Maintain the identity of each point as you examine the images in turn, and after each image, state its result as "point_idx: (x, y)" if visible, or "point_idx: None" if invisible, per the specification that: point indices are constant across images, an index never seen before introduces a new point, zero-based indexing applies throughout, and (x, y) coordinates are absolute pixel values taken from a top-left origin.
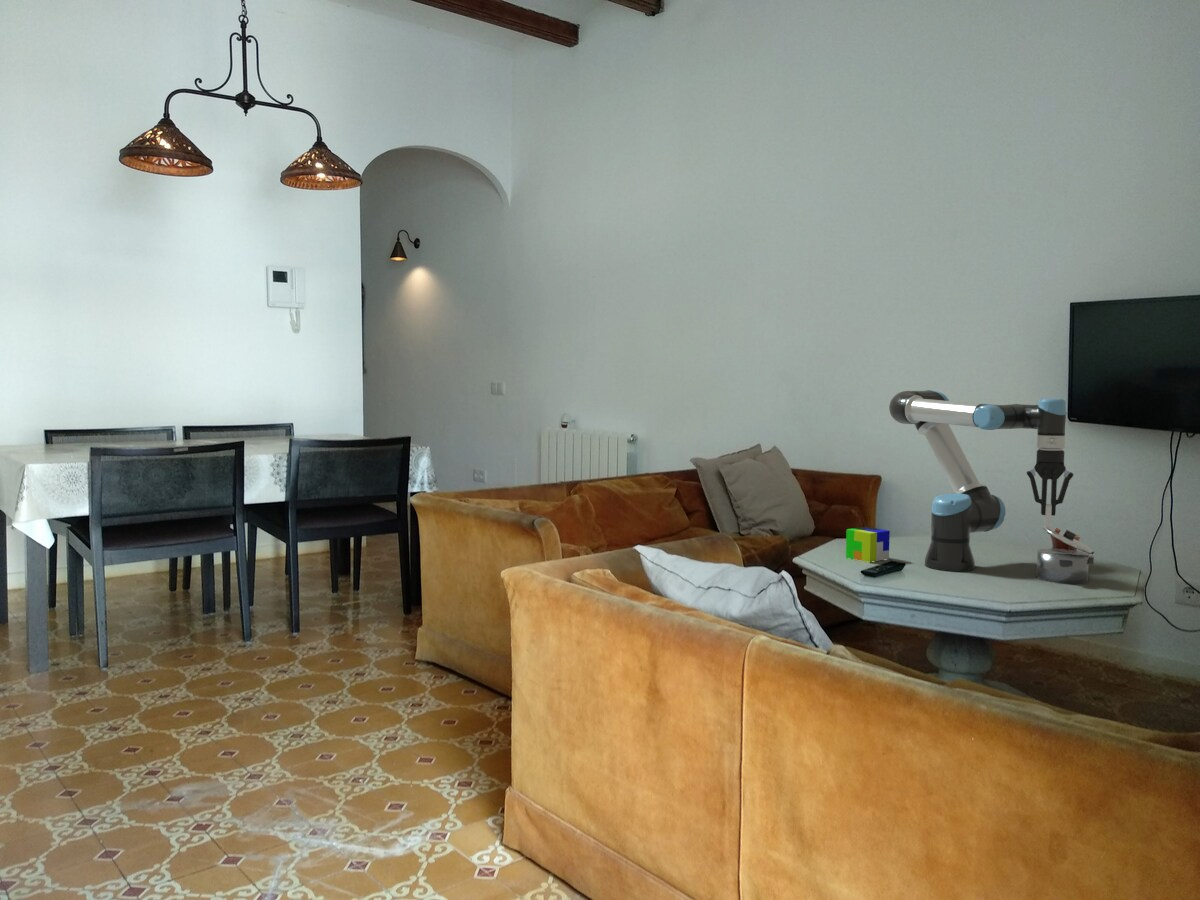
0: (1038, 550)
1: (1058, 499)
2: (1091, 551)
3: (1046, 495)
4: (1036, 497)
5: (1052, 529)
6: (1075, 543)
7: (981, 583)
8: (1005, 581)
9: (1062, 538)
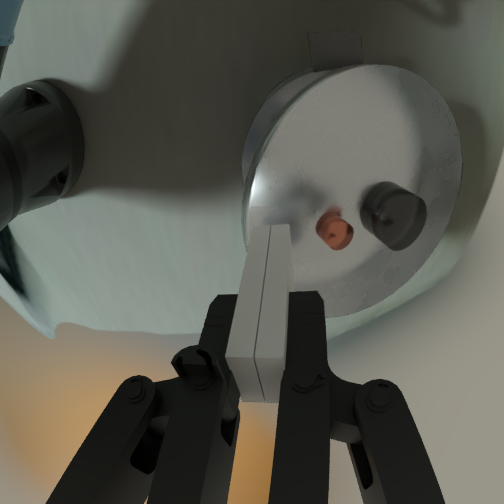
0: (245, 158)
1: (355, 436)
2: (445, 225)
3: (228, 483)
4: (151, 449)
5: (306, 182)
6: (395, 267)
7: (151, 283)
8: (187, 245)
9: (340, 315)
